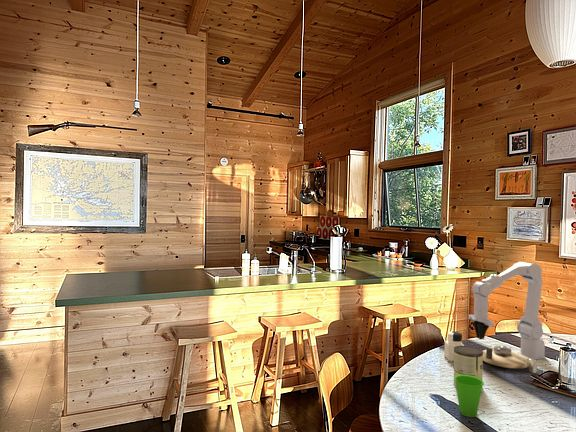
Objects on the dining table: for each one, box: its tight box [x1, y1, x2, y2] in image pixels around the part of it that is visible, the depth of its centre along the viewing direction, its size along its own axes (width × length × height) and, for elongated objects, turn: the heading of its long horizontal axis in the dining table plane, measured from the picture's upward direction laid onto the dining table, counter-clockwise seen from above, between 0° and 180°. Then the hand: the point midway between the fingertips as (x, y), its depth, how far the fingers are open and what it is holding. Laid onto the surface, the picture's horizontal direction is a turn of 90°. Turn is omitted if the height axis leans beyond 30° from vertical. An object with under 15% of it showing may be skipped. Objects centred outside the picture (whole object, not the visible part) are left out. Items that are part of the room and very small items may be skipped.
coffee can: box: [453, 345, 484, 390], centre depth 157 cm, size 10×10×14 cm
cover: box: [493, 344, 512, 356], centre depth 187 cm, size 7×7×3 cm
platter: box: [482, 347, 529, 369], centre depth 183 cm, size 20×20×6 cm
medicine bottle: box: [443, 331, 465, 362], centre depth 187 cm, size 7×7×12 cm
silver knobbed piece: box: [522, 359, 538, 374], centre depth 174 cm, size 3×7×6 cm, turn 13°
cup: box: [453, 375, 485, 418], centre depth 135 cm, size 9×9×11 cm
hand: (480, 338), depth 187 cm, fingers closed
